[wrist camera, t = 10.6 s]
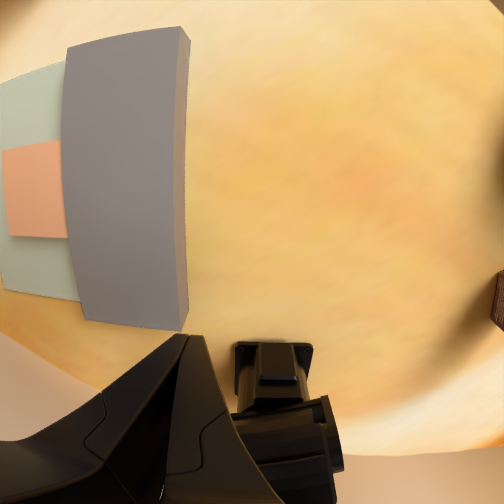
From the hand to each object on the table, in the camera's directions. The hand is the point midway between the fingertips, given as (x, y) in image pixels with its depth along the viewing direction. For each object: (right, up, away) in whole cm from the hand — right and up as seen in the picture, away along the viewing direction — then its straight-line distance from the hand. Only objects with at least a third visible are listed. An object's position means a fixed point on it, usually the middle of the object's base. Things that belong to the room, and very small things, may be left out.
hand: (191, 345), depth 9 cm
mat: (-17, +8, +11) cm, 22 cm away
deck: (-7, +8, +11) cm, 15 cm away
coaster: (-14, +8, +11) cm, 19 cm away
